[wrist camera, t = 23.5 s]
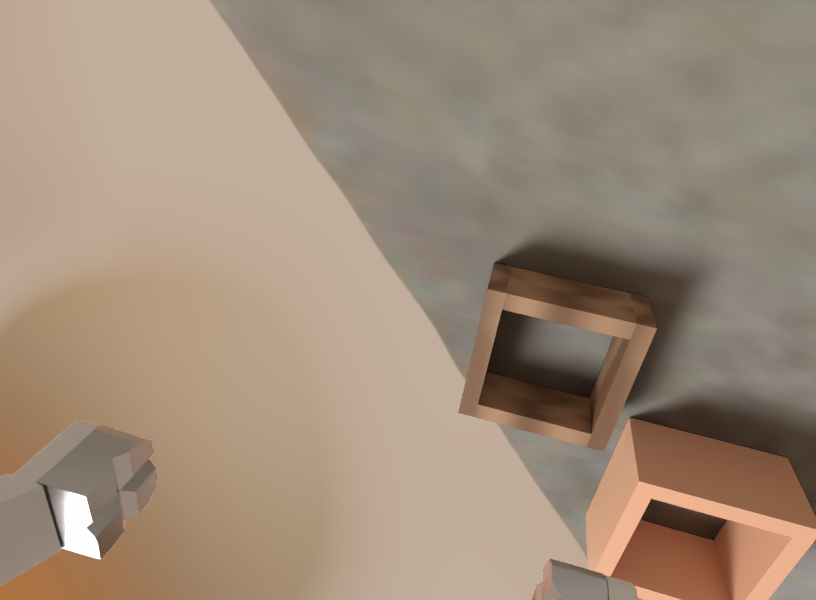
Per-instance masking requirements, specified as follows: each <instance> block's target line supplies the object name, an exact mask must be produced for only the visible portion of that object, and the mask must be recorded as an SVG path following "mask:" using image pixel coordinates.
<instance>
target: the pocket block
mask: <svg viewBox="0 0 816 600" xmlns="http://www.w3.org/2000/svg"><path fill="white" fill-rule="evenodd" d="M502 310H506V311H510V312H514V313H519V314H523V315H527V316H531V317H536V318H540V319H544V320H548V321H552V322H557V323H561V324H565V325H569V326H573V327H578V328H582V329H586V330H590V331H595V332H599V333H603V334H607V335H611V336H613V339H612V342H611V344H610V347H609V349H608V352H607V354H606V357H605V360H604V362H603V365H602V367H601V370H600V372H599V375H598V378H597V380H596V383H595V385H594V388H593V390H592V393H591V396H590V398H586V397H583V396H579V395H575V394H571V393H567V392H563V391H559V390H555V389H551V388H547V387H543V386H539V385H535V384H531V383H527V382H524V381H520V380H516V379H512V378H508V377H504V376H500V375H496V374H492V373H488V372H486V371H487V367H488V363H489V359H490V355H491V351H492V347H493V343H494V340H495V336H496V332H497V328H498V324H499V320H500V316H501V312H502ZM656 330H657V326H656V323H655V319H654V315H653V311H652V308H651V304H650V300H649V297H645V296H640V295H636V294H631V293H627V292H622V291H618V290H614V289H609V288H605V287H600V286H596V285H591V284H587V283H583V282H578V281H574V280H569V279H565V278H560V277H556V276H552V275H547V274H543V273H538V272H534V271H529V270H525V269H520V268H516V267H512V266H507V265H503V264H498V263H494V266H493V270H492V273H491V277H490V281H489V285H488V289H487V293H486V297H485V302H484V306H483V310H482V314H481V319H480V323H479V327H478V331H477V336H476V340H475V344H474V349H473V353H472V357H471V361H470V366H469V370H468V374H467V378H466V383H465V387H464V392H463V395H462V400H461V404H460V408H459V413H462V414H466V415H469V416H473V417H477V418H481V419H484V420H488V421H492V422H495V423H499V424H503V425H507V426H510V427H514V428H518V429H522V430H525V431H529V432H533V433H537V434H540V435H544V436H548V437H552V438H555V439H559V440H563V441H567V442H570V443H574V444H578V445H582V446H585V447H589V448H593V449H597V450H600V451H604V450H605V448H606V445H607V443H608V441H609V438H610V436H611V434H612V432H613V429H614V427H615V425H616V422H617V420H618V418H619V415H620V413H621V411H622V408H623V406H624V404H625V402H626V399H627V397H628V395H629V392H630V390H631V388H632V385H633V383H634V381H635V378H636V376H637V374H638V372H639V369H640V367H641V365H642V362H643V360H644V358H645V355H646V353H647V351H648V348H649V346H650V344H651V342H652V339H653V337H654V335H655V332H656Z"/></svg>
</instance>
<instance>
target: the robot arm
mask: <svg viewBox="0 0 816 600" xmlns="http://www.w3.org/2000/svg"><path fill="white" fill-rule="evenodd" d="M152 453H153V447H152V443H151V441H150V440H147V439H144V438H141V437H138V436H135V435H132V434H129V433H125V432H122V431H119V430H116V429H113V428H110V427H107V426H104V425H101V424H98V423H94V422H91V421H88V420H84V419H81V420H78V421H76V422H73V423H72V424H71V425H70V426H68V427H67V428H66V429H65V430H64V431H63V432H61V433H60V434H59V435H58V436H57V437H56V438H55V439H53V440H52V441H51V442H50V443H49V444H48V445H46V446H45V447H44V448H43V449H42V450H41V451H40V452H38V453H37V454H36V455H35V456H34V457H33V458H32V459H30V460H29V461H28V462H27V463H26V464H25V465H24V466H22V467H21V468H20V469H19V470H18V471H17V472H16V473H14V474H13V475H9V474H3V475H0V586H2V585H3V584H5V583H7V582H9V581H10V580H12V579H14V578H16V577H17V576H19V575H20V574H22V573H24V572H26V571H28V570H29V569H31V568H33V567H34V566H36V565H38V564H40V563H41V562H43V561H45V560H46V559H48V558H50V557H52V556H53V555H55V554H57V553H59V552H60V551H61V550H62V549H61V548H64V549H67V550H71V551H74V552H77V553H81V554H84V555H87V556H90V557H94V558H97V559H102V558H103V557H104V555H105V554H106V553H107V552H108V551H109V550H110V548H111V547H112V546H113V545H114V543H115V542H116V541H117V540H118V539H119V537H120V536H121V535H122V534H123V532H124V528H125V527H124V525H125V520H126V519H128V518H130V517H132V516H134V515H136V514H138V513H140V511H141V510H142V509H143V508H144V506H145V505H146V504H147V503H148V501H149V499H150V497H151V495H152V493H153V490H154V488H155V485H156V479H157V474H156V468H155V466H154V465H153V464H152V463H151V461H150V460H149V459H148V458H149V457H150V456H151V455H152ZM532 600H638V597H637V590H636V588H635V586H634V584H633V583H631V582H627V581H624V580H620V579H617V578H613V577H610V576H606V575H603V574H602V573H599V572H595V571H592V570H588V569H584V568H581V567H577V566H574V565H571V564H567V563H564V562H560V561H556V560H553V559H549V560H548V561H547V563H546V565H545V567H544V570H543V582H542V583H540V584H538V585H537V586H536V589H535V591H534V594H533V597H532Z"/></svg>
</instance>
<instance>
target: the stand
mask: <svg viewBox="0 0 816 600" xmlns="http://www.w3.org/2000/svg"><path fill="white" fill-rule="evenodd" d="M651 499H654V500H658V501H661V502H665V503H669V504H672V505H676V506H680V507H683V508H687V509H691V510H694V511H698V512H701V513H705V514H709V515H712V516H716V517H720V518H723V519H727V521H726V522H725V524H724V525H723V527H722V528H721V530H720V531H719V533H718V534H717V536H716V538H715V539H714V540H710V539H707V538H703V537H700V536H696V535H692V534H689V533H685V532H682V531H678V530H675V529H671V528H668V527H664V526H660V525H657V524H653V523H650V522H646V521H643V520H640V519H641V517H642V516H643V514H644V512H645V510H646V508H647V506H648V504H649V502H650V500H651ZM586 534H587V559H588V570H592V571H595V572H599V573H602V574H603V575H606V576H610V577H613V578H617V579H620V580H624V581H627V582H631V583H633V584H634V586H635V588H636V590H637V597H638V598H641V599H644V600H768V599H769V597H770V596H771V595H772V594H773V592H774V591H775V590H776V589H777V587H778V586H779V585H780V584H781V582H782V581H783V580H784V579H785V577H786V576H787V575H788V574H789V572H790V571H791V570H792V569H793V567H794V566H795V565H796V564H797V562H798V561H799V560H800V558H801V557H802V556H803V555H804V553H805V552H806V551H807V550H808V548H809V547H810V546H811V545H812V543H813V542H814V541H815V540H816V517H815V515H814V512H813V510H812V508H811V506H810V504H809V502H808V500H807V498H806V496H805V494H804V491H803V489H802V487H801V485H800V483H799V481H798V479H797V477H796V475H795V472H794V470H793V468H792V466H791V464H790V462H789V460H788V458H786V457H782V456H778V455H774V454H770V453H767V452H763V451H759V450H755V449H751V448H747V447H743V446H739V445H735V444H731V443H728V442H724V441H720V440H716V439H712V438H708V437H704V436H700V435H696V434H692V433H689V432H685V431H681V430H677V429H673V428H669V427H665V426H661V425H657V424H653V423H650V422H646V421H642V420H638V419H634V418H630V417H629V419H628V422H627V424H626V426H625V428H624V430H623V433H622V435H621V437H620V439H619V442H618V444H617V446H616V448H615V451H614V453H613V455H612V457H611V460H610V462H609V464H608V466H607V469H606V471H605V473H604V475H603V477H602V480H601V482H600V484H599V486H598V489H597V491H596V493H595V495H594V498H593V500H592V502H591V504H590V507H589V509H588V511H587V513H586Z"/></svg>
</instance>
